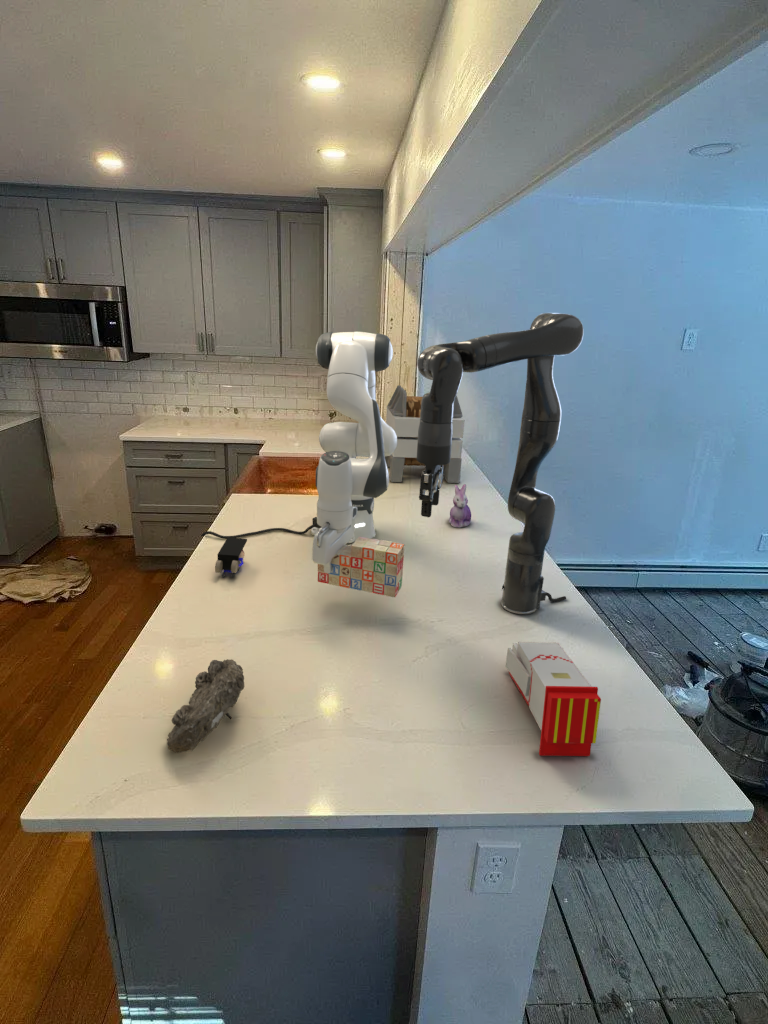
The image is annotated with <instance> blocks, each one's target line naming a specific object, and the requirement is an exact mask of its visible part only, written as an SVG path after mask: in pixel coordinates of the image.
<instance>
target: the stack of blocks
mask: <svg viewBox="0 0 768 1024" xmlns="http://www.w3.org/2000/svg"><path fill="white" fill-rule="evenodd" d="M404 556H405V544H404V543H400V542H399V543H398V542H393V541H391V540H385V539H377V538H372V539H371V538H365V537H358V538H357V539H356V540H355V542H353V543H351V545H348V544H346V545H344V546H343V547H342V548H341V549H340V550H339V551H338V552H337V553H336V555H335V556H334V557H333V558H332V560H331V565H333V568H332V569H333V570H332V571H331V572H330V573H325V572H324V566H323V565H321V564H317V582H318V583H322V584H328V585H331V586H336V587H341V588H346V589H352V590H357V591H363V592H367V593H372V594H377V595H382V596H386V597H390V598H396V597H397V596H398V594H399V592H400V590H401V589H402V586H403V572H404V558H405V557H404Z"/></svg>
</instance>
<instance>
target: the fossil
mask: <svg viewBox="0 0 768 1024" xmlns="http://www.w3.org/2000/svg"><path fill="white" fill-rule="evenodd" d="M243 670H244V669H243V667H242V665H240V664H237V662H236V661H235V660H234V659H232V658H231V659H227V658H226V659H224V660H223V661H222V660H217V659H212V660H211V661H210V663H209V665H208V666H207V671H201V672H199V673H198V674H197V675H196V676H195V680H194V684H195V685H194V687H195V689H194V690H193V693H192V694H191V697H190V698H189V700H188V704H184V705H182V706H181V707H180V709H177V710H176V711H175V713H174V715H173V716H172V718H171V723H172V724H173V727H172V730H171V731H170V732H168V734H167V738H166V741H167V742H166V745H167V749H168V750H169V751H173V752H174V753H176V754H178V753H182V752H188V751H189V752H192V751H193V750H195V748H196V747H197V746H199V744H200V743H201V742H203V741H204V740H205V739H206V738H207V737H208V736H209V735H210V734H211V733H212V732H214V730H215V729H217V727H218V726H219V724H220V722H221V721H222V720H223V719H224V718H225V716H226V717H227V719H229V720H233V717H232V715H230V714H229V710H230V709H231V708H234V706H235V704H236V703H237V702H238V699H239V697H240V695H241V693H242V691H243V690H245V689H244V688H245V675H244V671H243Z"/></svg>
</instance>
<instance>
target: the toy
mask: <svg viewBox="0 0 768 1024" xmlns="http://www.w3.org/2000/svg"><path fill="white" fill-rule="evenodd" d="M511 646H512V647H508V648H507V653H506V658H505V659H506V660H505V668H506V669H507V671H508V675H509V676H510V677H511V679H512V681H513V682H514V684H515V686H516V688H517V689H518V691H519V693H520V694H521V696H522V698H523V700H524V702H525V703H526V705H527V706H528V708H529V710H530V712H531V715H532V716H533V718H534V720H535V722H536V723H537V724H536V725H537V726H538V727H539V730H540V731H541V733H540V739H539V740H540V741H539V749H538V751H539V752H538V754H539V756H543V757H548V756H550V757H551V756H552V757H553V756H554V757H568V756H569V757H591V751H592V744H596V743H597V734H598V726H599V717H600V710H601V702H602V698H601V697H600V696H599V694H598V693H599V688H598V686H592V684H590V682H589V681H588V680H587V678H586V677H585V676H584V675H583V673H582V672H581V671H580V669H579V668H578V667H577V665H576V664H575V663H574V661H573V660H572V659H571V658H570V656H569V655H568V654H567V652H566V651H565V649H564V647H562V645H561V644H560V643H559V642H553V641H551V642H549V641H548V642H547V641H546V642H545V641H517V642H512V645H511Z"/></svg>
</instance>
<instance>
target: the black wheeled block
mask: <svg viewBox="0 0 768 1024" xmlns="http://www.w3.org/2000/svg"><path fill="white" fill-rule="evenodd" d="M247 542H248V538H242V537H240V538H227V539H225V541H224V543H223V544H222V546H221V547H220V549H219V551H218V552H217V560H216V562H215V564H214V572H215V573H221V577H222V578H224V577H225V576H226V574H227V573H230V574H231V573H232V574H231V578H234V577H235V575H236V573H237V572H239V571H240V567H242V566H243V565H244V564H245V562H244V558H245V551H244V547H245V546H246V544H247Z"/></svg>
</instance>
